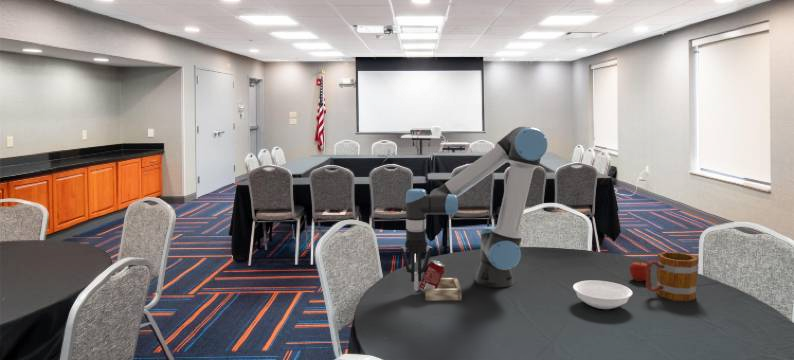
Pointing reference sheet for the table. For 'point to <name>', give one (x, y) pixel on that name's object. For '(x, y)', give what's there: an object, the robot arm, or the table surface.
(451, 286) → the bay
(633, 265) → the apple
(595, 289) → the bowl
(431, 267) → the soda can
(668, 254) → the mug
